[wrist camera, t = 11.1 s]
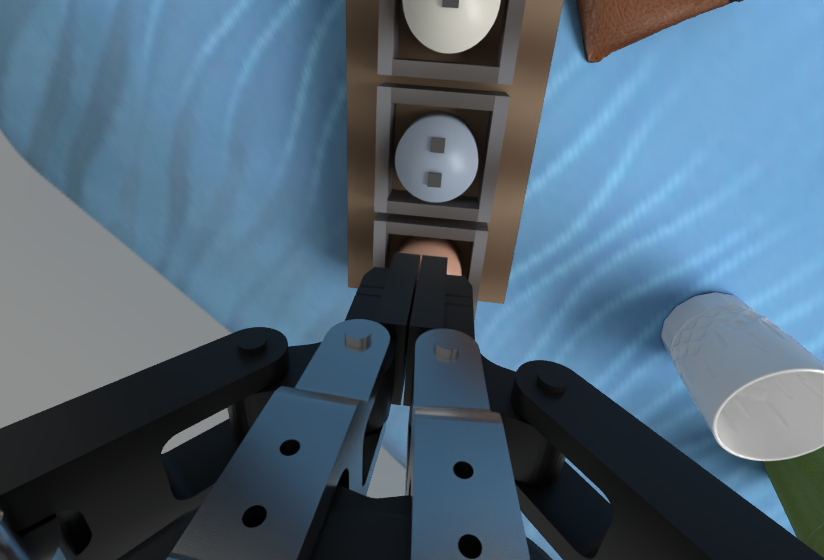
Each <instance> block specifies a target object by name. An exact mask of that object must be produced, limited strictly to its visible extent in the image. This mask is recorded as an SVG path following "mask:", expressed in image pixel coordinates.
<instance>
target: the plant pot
mask: <svg viewBox="0 0 824 560" xmlns="http://www.w3.org/2000/svg"><path fill="white" fill-rule="evenodd" d="M764 467H765V469H766V472H767V474H768V476H769V478H770V480H771V483H772V485H773V487H774V489H775V491H776V493H777V496H778V498H779V500H780V502H781V504H782V506H783V508H784V511H785V513H786V515H787V517H788V519H789V521H790V524H791V526H792V528H793V530H794V532H795V534H796V537H797V538H798V539H799V540H800V541H802V542H803V543H804V544H806V545H807V546H808V547H810V548H811V549H812V550H814V551H815V552H816V553H818V554H819V555H821V556H822V557H823V558H824V446H823V447H821V448H819V449H817V450H815V451H812V452H810V453H807V454H804V455H801V456H798V457H794V458H790V459H784V460H777V461H764Z"/></svg>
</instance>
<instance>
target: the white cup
mask: <svg viewBox="0 0 824 560" xmlns="http://www.w3.org/2000/svg"><path fill="white" fill-rule="evenodd" d="M661 337H662V340H663V342H664V345H665V348H666V350H667V352H668V353H669V355H670V357H671V358H672V360H673V364H674V366H675V368H676V370H677V372H678V373H679V375H680V377H681V379H682V381H683V383H684V385H685V386H686V388H687V390H688V392H689V394H690V396H691V398H692V399H693V401H694V403H695V405H696V406H697V408H698V410H699V412H700V413H701V415H702V417H703V418H704V420H705V422H706V424H707V425H708V427H709V429H710V431H711V432H712V434H713V436H714V438H715V439H716V441H717V442H718V444H719V445H720V446H721V447H722V448H723V449H725V450H726V451H727V452H729V453H731V454H733V455H735V456H738V457H741V458H744V459H749V460H756V461H777V460H784V459H790V458H794V457H798V456H801V455H804V454H807V453H810V452H812V451H815V450H817V449H819V448H821V447H823V446H824V362H822V361H821V360H820V359H818V358H817V357H816V356H815V355H813V354H812V353H811V352H810V351H808V350H807V349H806V348H805V347H804V346H802V345H801V344H800V343H799V342H798V341H796V340H795V339H794V338H793V337H791V336H790V335H788V334H787V333H785V332H784V331H783V330H782V329H781V328H779V327H778V326H777V325H775V324H774V323H772V322H771V321H770V320H769V319H767V318H766V317H765V316H762V315H760V314H758V313H757V312H756V311H754V310H753V309H752V308H751V307H749V306H748V305H747V304H745V303H744V302H743V301H742V300H740V299H739V298H738V297H736V296H734V295H729V294H723V293H718V292H713V293H708V294H703V295H698V296H694V297H692V298H690V299H688V300H687V301H685V302H683V303H681V304H679V305H678V306H676V307H675V308H674V310H673V311H672V312H671V313H670V314H669V316H668V317H667V318H666V319H665V321H664V324H663V329H662V333H661Z"/></svg>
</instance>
